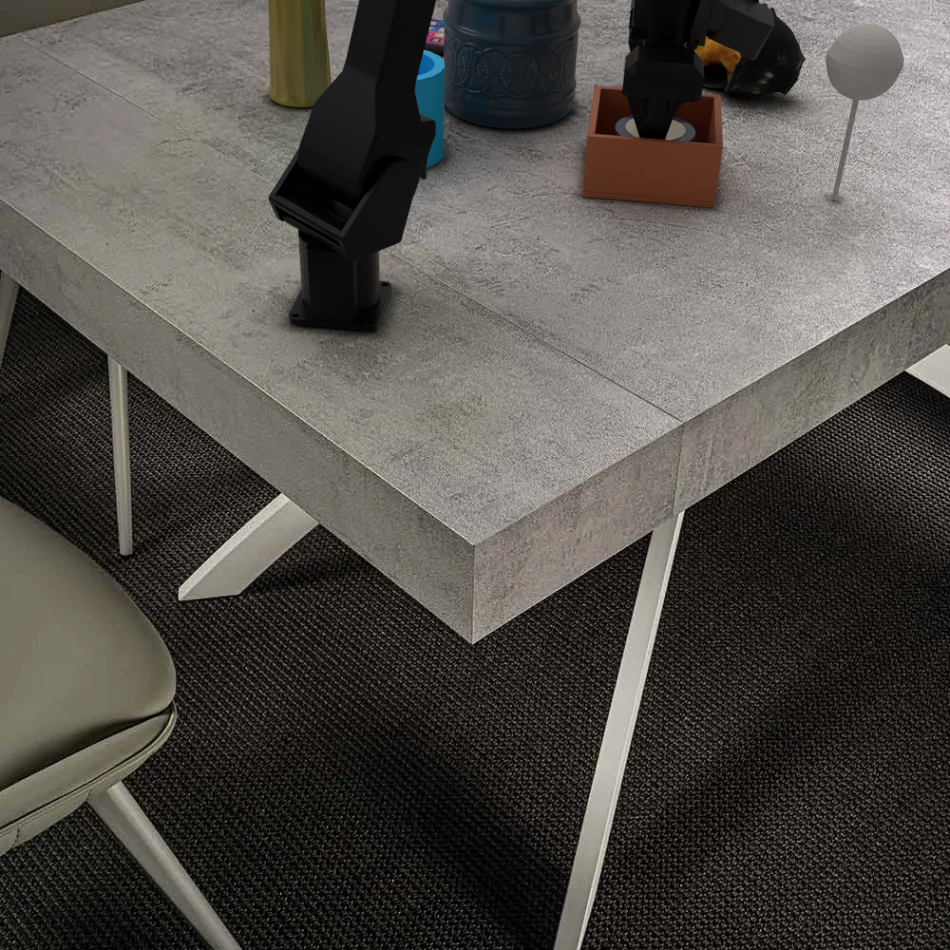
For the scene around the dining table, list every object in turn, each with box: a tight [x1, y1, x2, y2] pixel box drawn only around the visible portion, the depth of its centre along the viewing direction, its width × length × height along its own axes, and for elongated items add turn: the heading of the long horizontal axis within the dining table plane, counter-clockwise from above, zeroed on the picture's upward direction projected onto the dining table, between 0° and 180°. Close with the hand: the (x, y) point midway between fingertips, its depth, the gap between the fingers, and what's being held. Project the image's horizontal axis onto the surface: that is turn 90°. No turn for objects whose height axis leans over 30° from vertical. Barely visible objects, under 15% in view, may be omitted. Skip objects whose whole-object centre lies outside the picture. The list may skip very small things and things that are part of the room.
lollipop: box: [825, 23, 905, 202], centre depth 108 cm, size 6×6×15 cm
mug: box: [415, 50, 445, 169], centre depth 117 cm, size 12×8×8 cm
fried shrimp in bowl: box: [627, 6, 807, 98], centre depth 130 cm, size 9×11×18 cm
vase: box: [267, 0, 332, 109], centre depth 123 cm, size 6×6×14 cm
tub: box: [581, 84, 724, 209], centre depth 114 cm, size 11×11×6 cm
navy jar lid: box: [614, 115, 696, 142], centre depth 114 cm, size 7×7×2 cm
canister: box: [442, 0, 582, 129], centre depth 121 cm, size 13×13×18 cm
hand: (652, 139), depth 114 cm, fingers closed on navy jar lid, 7 cm apart
